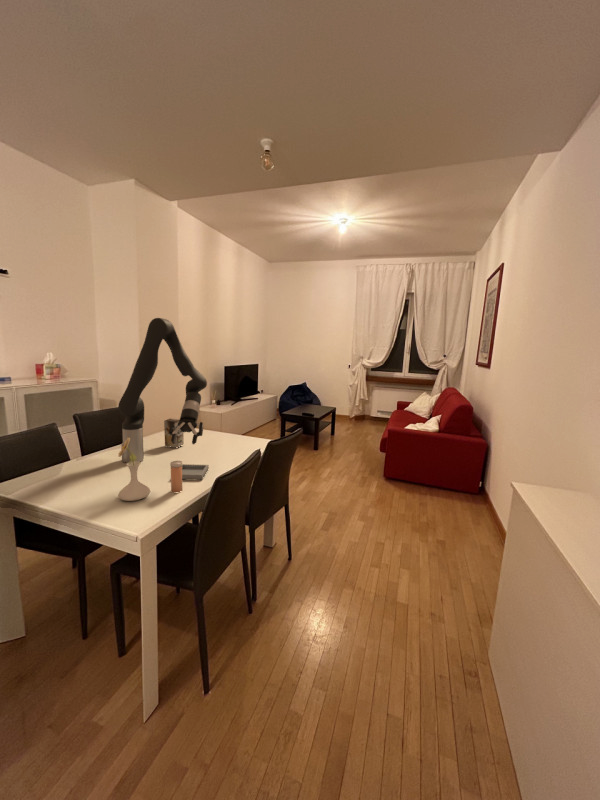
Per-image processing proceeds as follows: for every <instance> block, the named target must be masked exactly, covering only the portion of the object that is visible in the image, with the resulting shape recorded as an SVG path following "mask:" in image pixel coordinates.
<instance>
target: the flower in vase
mask: <svg viewBox="0 0 600 800" xmlns="http://www.w3.org/2000/svg"><path fill="white" fill-rule="evenodd" d="M129 441H130V437H129V439H128V438H127V441H125V443H124V446H122V447H121V446H120V447H121V448H120V451H119V452H118V457H119V458H120V457H121V458H122V454H123V453H124V451H125V450H126V449H128V447H127V446H128V444H129ZM121 449H122V450H121ZM128 450H129V449H128ZM129 452H130V450H129ZM130 454H131V455H130V457H129V458H130V459H131V461H130V462H129V463H125V464H126V467H128V469H129V473H130V481H129V482H128V484H127V485H125V486H124V487H123V488H122V489H121V490H119V492H118V494H117V497H118V498H119V499H120V500H122V501H129V502H131V501H132V502H133V501H134V502H135V501H139V500H141V499H144V498H146V497H148V496H149V495H150V493H151V489H150V487H148V486H147V485H146V484H145V483H142V482H140V481H139V479H138V469H139V467H140V465H141V462H142V461H141V462H138V461H135V460H136V459H137V457H136V456H135V455H134V453H131V452H130ZM132 461H133V462H132Z"/></svg>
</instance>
